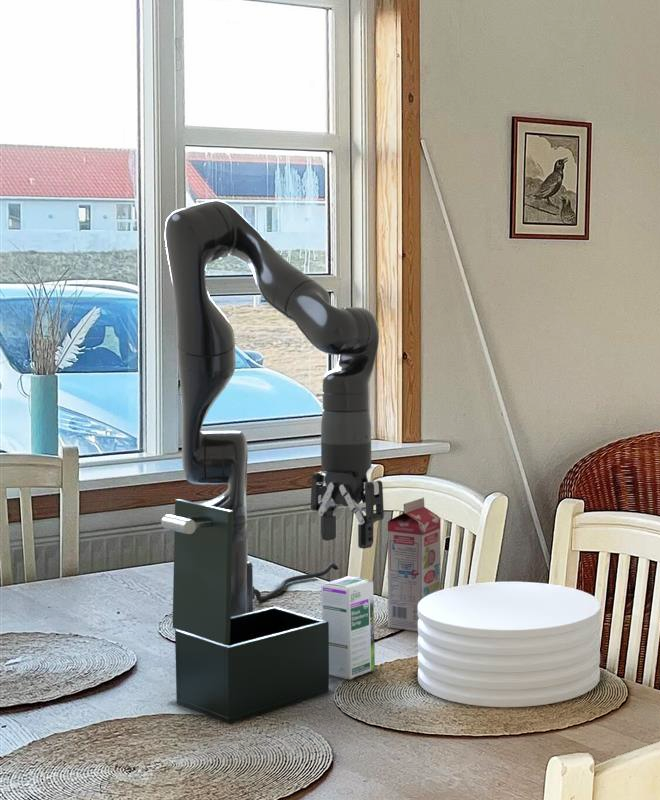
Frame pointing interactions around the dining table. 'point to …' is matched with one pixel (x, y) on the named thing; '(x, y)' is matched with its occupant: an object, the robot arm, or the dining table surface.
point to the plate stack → (509, 643)
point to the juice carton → (412, 562)
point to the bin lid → (202, 569)
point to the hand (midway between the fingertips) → (346, 543)
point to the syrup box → (349, 626)
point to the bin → (253, 665)
